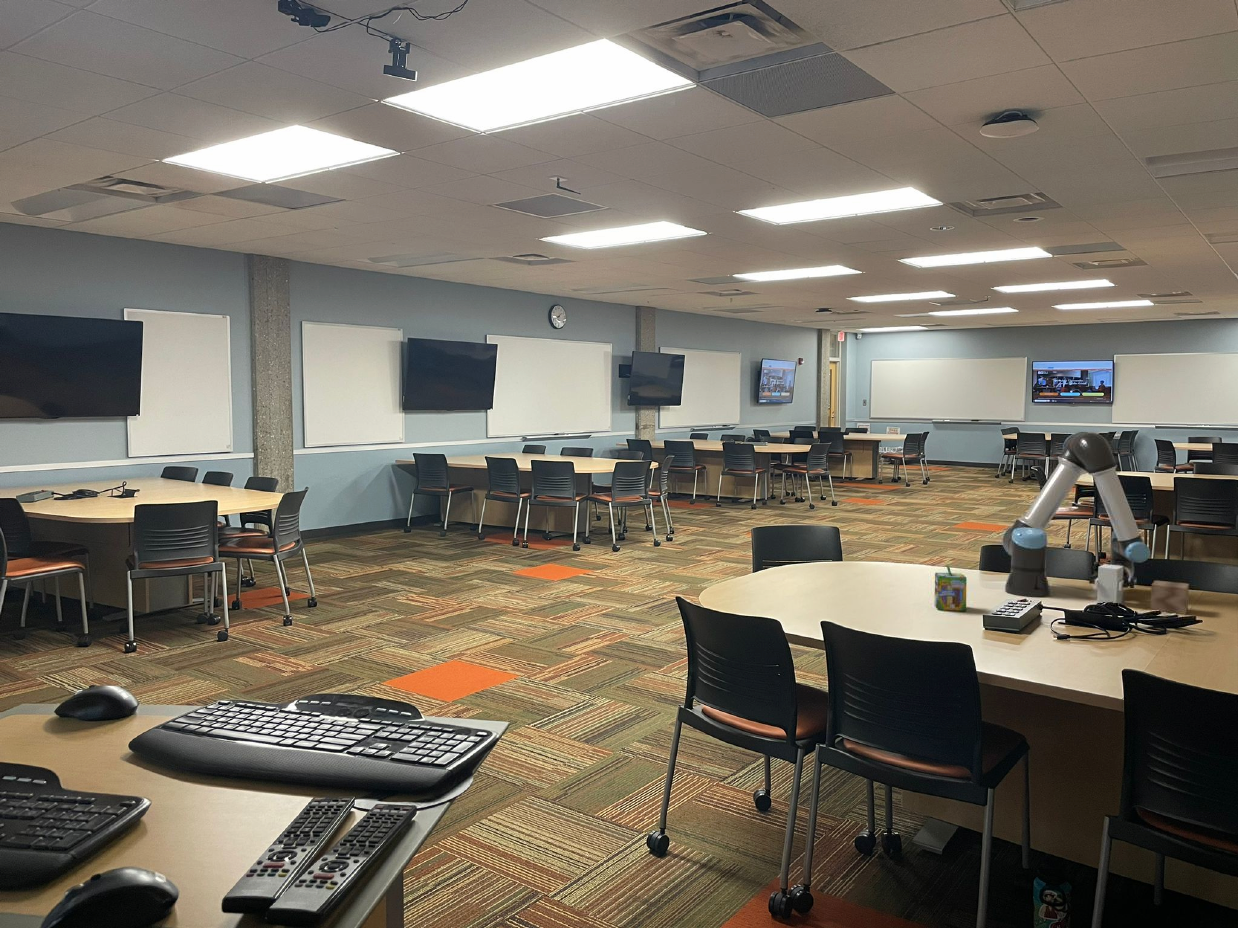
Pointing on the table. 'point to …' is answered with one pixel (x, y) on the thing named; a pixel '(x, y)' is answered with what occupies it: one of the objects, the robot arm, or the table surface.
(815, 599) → the table surface
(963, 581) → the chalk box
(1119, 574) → the small box
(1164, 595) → the walnut block
